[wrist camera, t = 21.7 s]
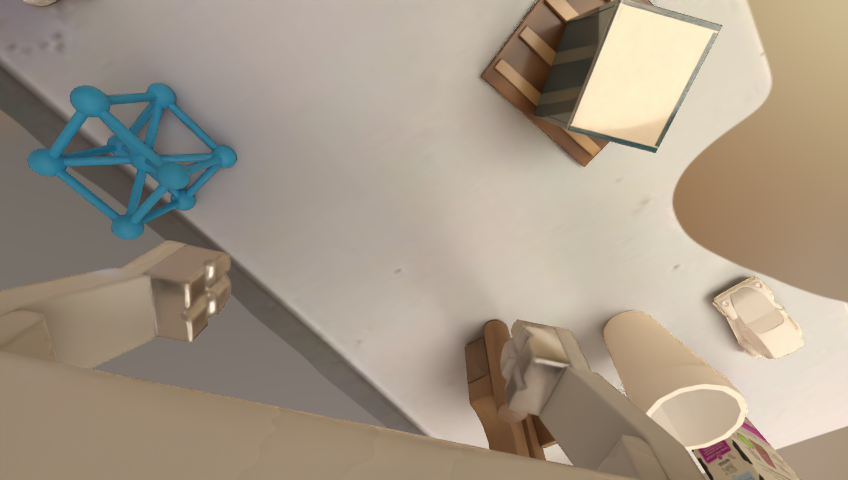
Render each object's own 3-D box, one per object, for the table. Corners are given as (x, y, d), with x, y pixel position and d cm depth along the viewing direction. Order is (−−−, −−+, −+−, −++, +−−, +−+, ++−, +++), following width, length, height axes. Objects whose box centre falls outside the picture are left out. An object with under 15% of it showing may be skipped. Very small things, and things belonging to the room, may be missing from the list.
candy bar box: (648, 390, 50) (736, 524, 35) (676, 368, 48) (781, 500, 33) (704, 420, 52) (809, 558, 37) (733, 400, 50) (856, 538, 35)
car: (794, 327, 44) (831, 354, 40) (743, 352, 46) (774, 380, 42) (753, 267, 41) (789, 289, 37) (701, 296, 43) (729, 321, 39)
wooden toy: (556, 386, 50) (650, 640, 28) (516, 404, 52) (572, 656, 30) (499, 315, 45) (555, 553, 23) (456, 338, 47) (470, 578, 25)
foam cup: (664, 292, 43) (749, 374, 31) (669, 347, 46) (747, 440, 35) (585, 312, 45) (636, 397, 33) (596, 364, 48) (646, 457, 36)
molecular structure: (115, 142, 38) (13, 163, 29) (165, 77, 35) (69, 78, 26) (192, 210, 41) (122, 248, 32) (245, 156, 38) (183, 181, 29)
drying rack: (480, 76, 33) (482, 76, 32) (585, -63, 29) (592, -70, 27) (581, 165, 37) (586, 168, 35) (691, 53, 32) (701, 52, 31)
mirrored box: (655, 153, 25) (722, 25, 21) (567, 130, 24) (622, -4, 21) (598, 132, 34) (639, 39, 30) (533, 115, 33) (567, 19, 30)
